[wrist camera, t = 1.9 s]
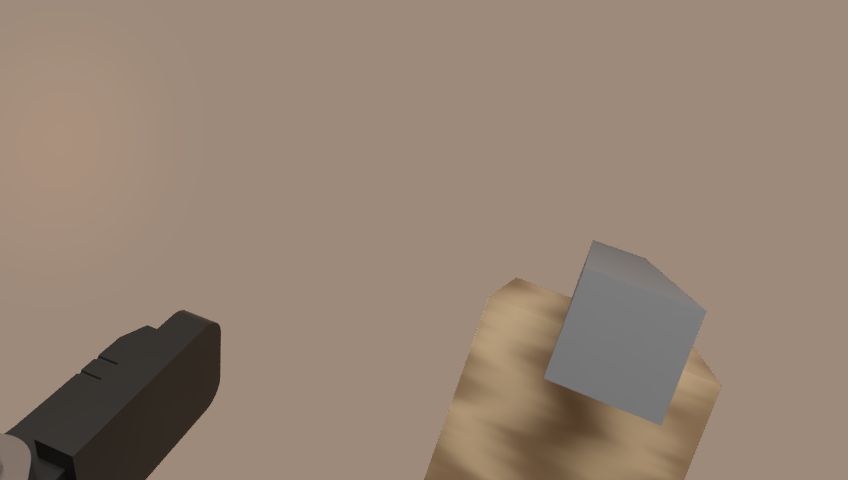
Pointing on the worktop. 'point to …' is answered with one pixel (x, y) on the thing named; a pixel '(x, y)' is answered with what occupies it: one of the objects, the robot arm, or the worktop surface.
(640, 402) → the block
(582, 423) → the stand
